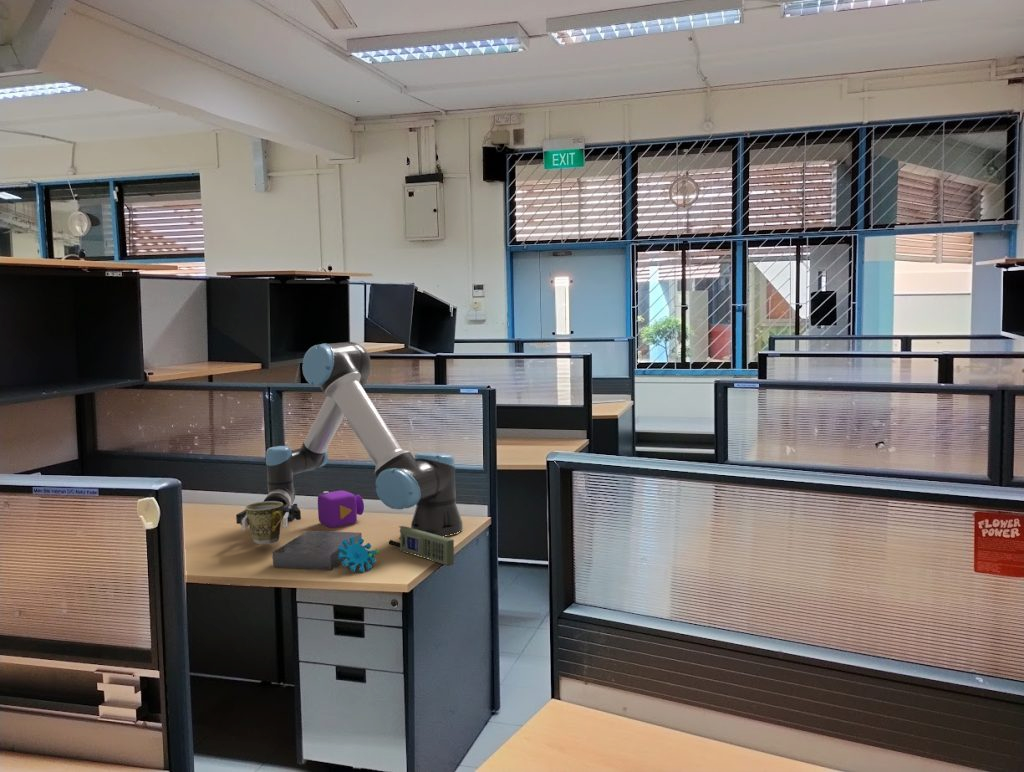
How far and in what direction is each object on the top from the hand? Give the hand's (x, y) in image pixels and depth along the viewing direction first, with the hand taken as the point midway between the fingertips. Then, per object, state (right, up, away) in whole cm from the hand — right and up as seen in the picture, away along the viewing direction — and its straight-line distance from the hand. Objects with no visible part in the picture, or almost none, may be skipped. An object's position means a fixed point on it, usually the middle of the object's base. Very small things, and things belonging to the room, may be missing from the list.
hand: (264, 524), depth 216 cm
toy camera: (+15, -5, +31) cm, 35 cm away
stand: (+16, -8, -3) cm, 18 cm away
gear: (+28, -9, -13) cm, 32 cm away
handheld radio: (+42, -8, -3) cm, 43 cm away
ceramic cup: (0, -6, +5) cm, 7 cm away
